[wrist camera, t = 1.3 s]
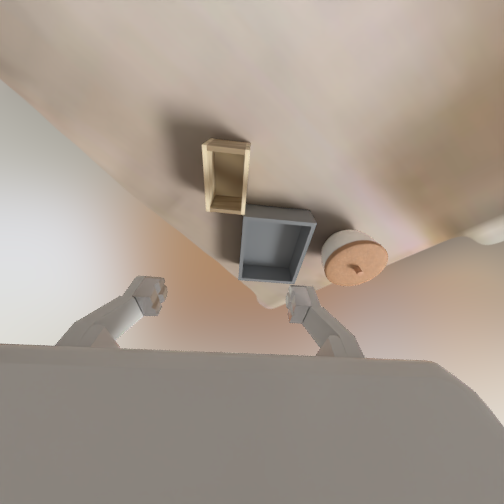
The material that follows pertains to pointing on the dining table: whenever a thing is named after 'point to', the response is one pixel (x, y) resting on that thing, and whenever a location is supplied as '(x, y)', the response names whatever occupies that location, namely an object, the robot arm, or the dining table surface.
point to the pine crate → (225, 175)
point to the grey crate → (274, 243)
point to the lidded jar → (352, 258)
